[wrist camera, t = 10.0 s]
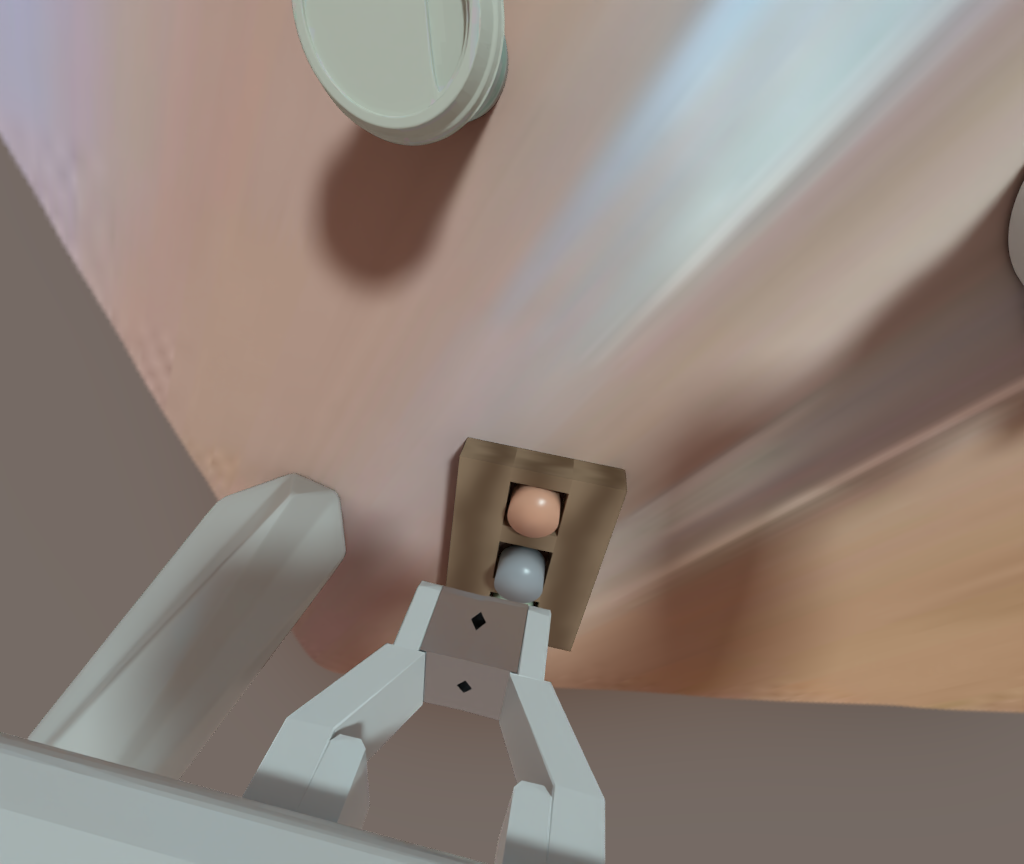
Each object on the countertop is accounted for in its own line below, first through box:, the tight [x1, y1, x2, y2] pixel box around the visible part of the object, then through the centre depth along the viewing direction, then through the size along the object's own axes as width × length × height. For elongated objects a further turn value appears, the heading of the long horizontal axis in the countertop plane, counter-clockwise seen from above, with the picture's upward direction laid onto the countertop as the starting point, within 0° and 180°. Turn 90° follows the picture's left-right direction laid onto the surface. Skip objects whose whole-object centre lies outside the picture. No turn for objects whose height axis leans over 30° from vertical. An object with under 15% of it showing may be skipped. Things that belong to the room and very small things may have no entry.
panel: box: [446, 438, 627, 651], centre depth 46 cm, size 14×22×3 cm, turn 172°
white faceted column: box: [27, 474, 346, 780], centre depth 35 cm, size 12×12×33 cm
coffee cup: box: [292, 0, 508, 146], centre depth 23 cm, size 9×8×12 cm
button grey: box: [494, 545, 546, 603], centre depth 44 cm, size 4×4×3 cm
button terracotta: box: [507, 483, 561, 538], centre depth 41 cm, size 4×4×3 cm
